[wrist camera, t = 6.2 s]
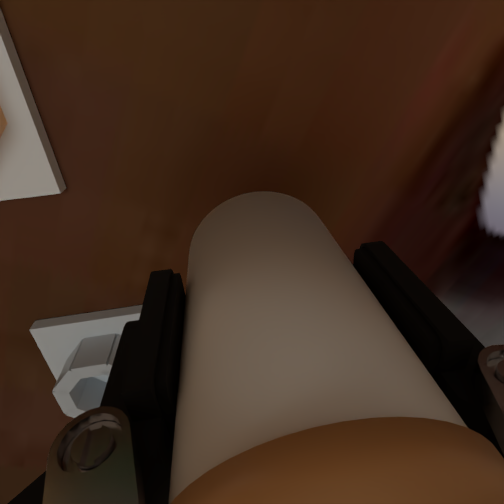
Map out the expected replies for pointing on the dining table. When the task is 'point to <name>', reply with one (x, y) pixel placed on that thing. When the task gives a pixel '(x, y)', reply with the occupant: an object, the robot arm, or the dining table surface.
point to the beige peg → (306, 378)
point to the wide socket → (22, 133)
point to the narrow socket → (82, 354)
